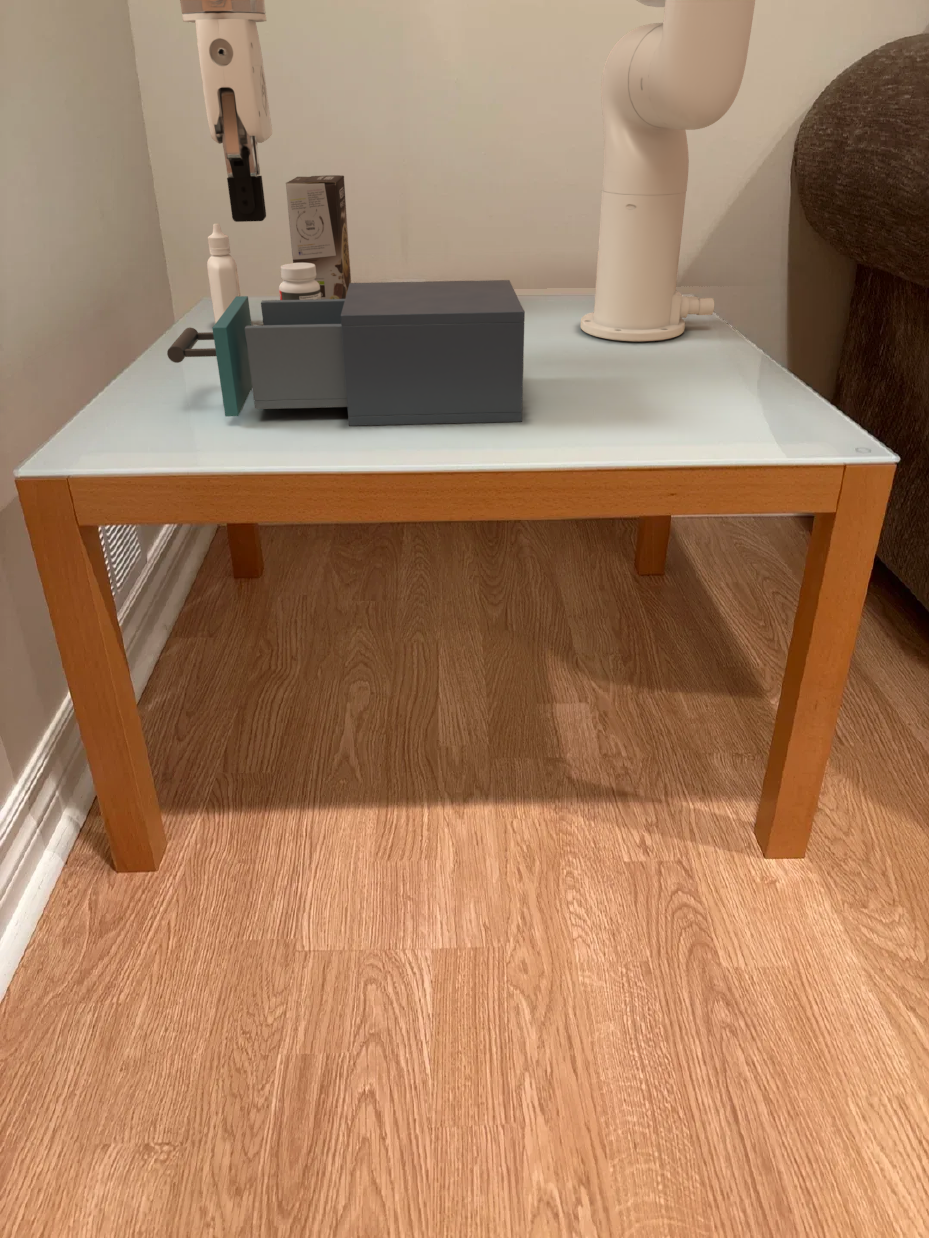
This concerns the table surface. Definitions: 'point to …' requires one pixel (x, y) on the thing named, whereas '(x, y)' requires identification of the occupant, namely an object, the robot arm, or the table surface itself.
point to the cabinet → (433, 352)
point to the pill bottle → (299, 282)
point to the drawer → (275, 354)
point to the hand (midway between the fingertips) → (249, 220)
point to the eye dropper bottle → (221, 272)
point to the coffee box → (321, 230)
